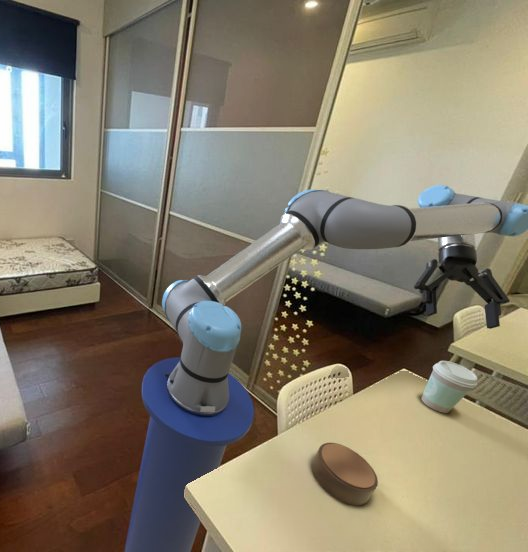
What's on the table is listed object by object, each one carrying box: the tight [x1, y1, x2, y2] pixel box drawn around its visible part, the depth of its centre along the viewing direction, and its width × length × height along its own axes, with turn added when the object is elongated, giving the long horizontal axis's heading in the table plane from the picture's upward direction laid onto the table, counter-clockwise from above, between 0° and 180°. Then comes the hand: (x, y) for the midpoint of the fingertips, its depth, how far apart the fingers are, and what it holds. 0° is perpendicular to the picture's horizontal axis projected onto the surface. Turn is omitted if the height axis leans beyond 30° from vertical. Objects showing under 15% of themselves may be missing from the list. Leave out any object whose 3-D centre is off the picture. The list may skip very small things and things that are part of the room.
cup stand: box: [311, 442, 379, 506], centre depth 63 cm, size 10×10×4 cm
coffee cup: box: [421, 360, 478, 414], centre depth 85 cm, size 9×9×12 cm
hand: (461, 320), depth 84 cm, fingers open, 13 cm apart
